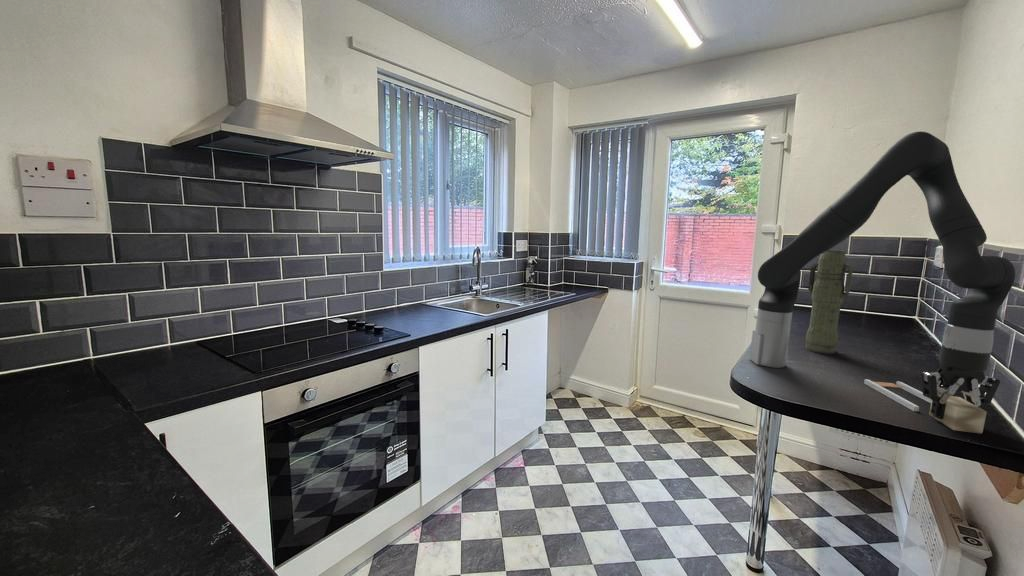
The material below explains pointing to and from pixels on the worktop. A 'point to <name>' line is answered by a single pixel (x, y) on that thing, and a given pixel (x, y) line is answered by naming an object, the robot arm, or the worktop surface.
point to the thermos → (827, 301)
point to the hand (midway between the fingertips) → (952, 418)
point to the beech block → (962, 415)
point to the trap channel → (906, 403)
